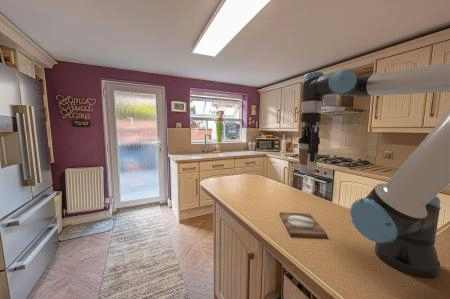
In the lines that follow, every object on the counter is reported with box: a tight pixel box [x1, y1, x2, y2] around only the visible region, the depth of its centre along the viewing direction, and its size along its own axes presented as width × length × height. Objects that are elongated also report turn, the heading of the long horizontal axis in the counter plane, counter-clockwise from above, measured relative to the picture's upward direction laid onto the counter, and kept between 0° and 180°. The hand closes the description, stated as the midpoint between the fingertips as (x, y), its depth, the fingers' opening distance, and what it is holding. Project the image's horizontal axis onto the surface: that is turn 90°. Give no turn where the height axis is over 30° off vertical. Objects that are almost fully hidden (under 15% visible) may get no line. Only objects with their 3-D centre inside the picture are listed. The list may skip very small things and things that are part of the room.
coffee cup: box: [298, 136, 321, 175], centre depth 80 cm, size 8×8×15 cm
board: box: [279, 211, 328, 239], centre depth 82 cm, size 18×14×2 cm
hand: (307, 167), depth 81 cm, fingers closed on coffee cup, 8 cm apart
